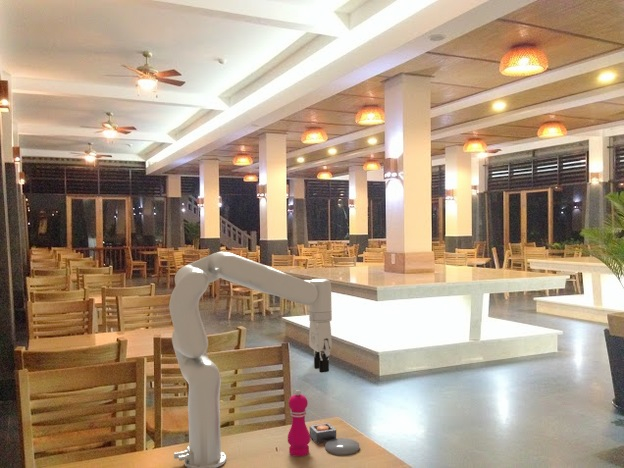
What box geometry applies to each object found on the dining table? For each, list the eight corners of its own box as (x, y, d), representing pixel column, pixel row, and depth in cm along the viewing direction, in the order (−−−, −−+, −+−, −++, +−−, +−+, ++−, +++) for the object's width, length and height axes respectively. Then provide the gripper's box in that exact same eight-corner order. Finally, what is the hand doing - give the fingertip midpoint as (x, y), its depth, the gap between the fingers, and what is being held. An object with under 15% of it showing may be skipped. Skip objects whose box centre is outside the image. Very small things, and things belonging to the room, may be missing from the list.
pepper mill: (311, 447, 183) (310, 386, 182) (309, 457, 176) (307, 393, 175) (289, 447, 184) (288, 386, 183) (286, 456, 177) (284, 393, 176)
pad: (332, 457, 176) (332, 454, 176) (320, 444, 186) (320, 441, 186) (365, 451, 179) (365, 448, 179) (351, 439, 190) (351, 436, 190)
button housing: (316, 443, 187) (316, 432, 186) (309, 435, 193) (309, 425, 193) (336, 440, 189) (336, 429, 189) (328, 432, 195) (328, 422, 195)
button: (319, 437, 188) (319, 430, 188) (315, 433, 192) (315, 426, 192) (330, 435, 190) (330, 428, 190) (326, 431, 194) (326, 424, 193)
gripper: (302, 312, 196) (303, 365, 197) (318, 321, 181) (319, 378, 181) (322, 311, 199) (323, 363, 199) (340, 319, 183) (341, 375, 184)
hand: (321, 369), depth 190 cm, fingers open, 4 cm apart
